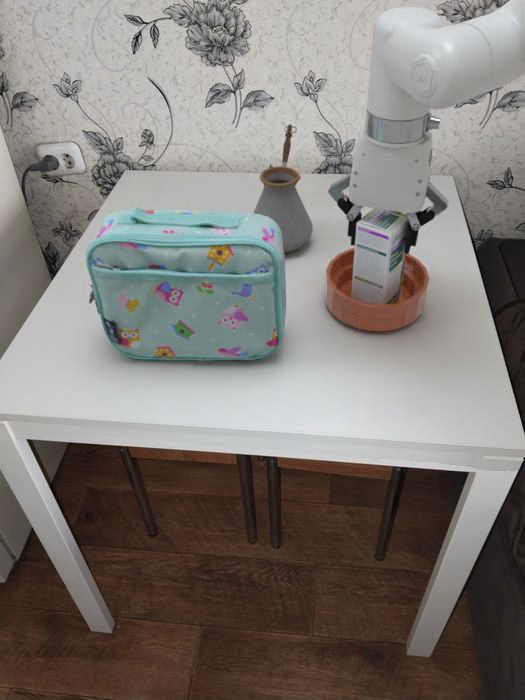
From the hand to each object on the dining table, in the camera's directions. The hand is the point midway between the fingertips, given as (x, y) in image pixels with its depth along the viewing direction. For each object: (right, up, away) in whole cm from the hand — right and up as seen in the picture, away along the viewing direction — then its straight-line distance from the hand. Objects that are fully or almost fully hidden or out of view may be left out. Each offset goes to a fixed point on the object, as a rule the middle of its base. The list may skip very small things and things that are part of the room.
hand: (381, 243), depth 85 cm
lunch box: (-27, -14, +3) cm, 31 cm away
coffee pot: (-13, +7, +24) cm, 29 cm away
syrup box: (0, -7, +7) cm, 10 cm away
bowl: (0, -8, +8) cm, 11 cm away
